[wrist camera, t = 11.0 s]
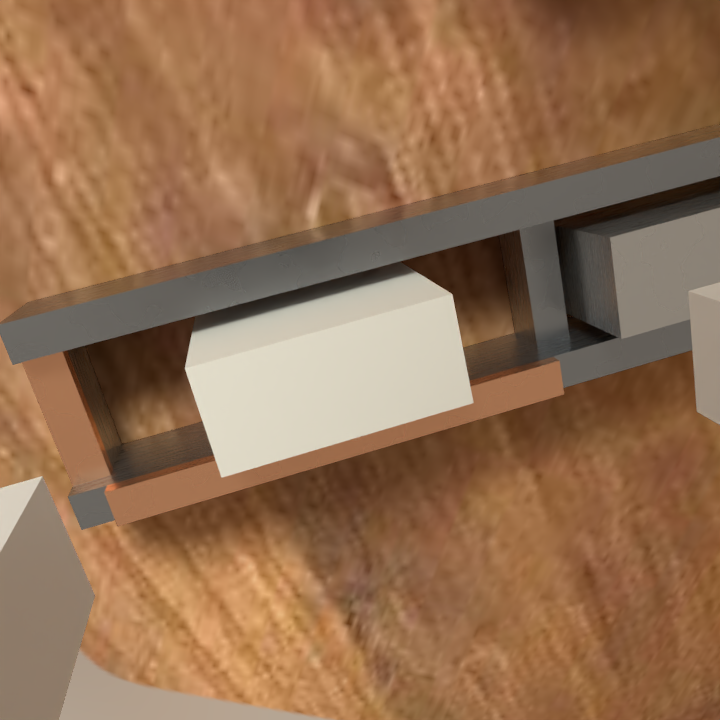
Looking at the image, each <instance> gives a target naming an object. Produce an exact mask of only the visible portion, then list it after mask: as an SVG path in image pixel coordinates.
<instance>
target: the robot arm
mask: <svg viewBox="0 0 720 720" xmlns="http://www.w3.org/2000/svg"><path fill="white" fill-rule="evenodd" d="M688 294H689V308H690V323H691V337H692V351H693V365H694V379H695V393H696V408H697V412H698V413H700V414H702V415H703V416H705V417H707V418H709V419H710V420H712V421H714V422H716V423H717V424H719V425H720V282H718V283H715V284H712V285H708V286H705V287H701V288H698V289H694V290H691V291H688ZM94 597H95V594H94V592H93V590H92V588H91V585H90V583H89V581H88V578H87V576H86V574H85V572H84V569H83V567H82V565H81V563H80V560H79V558H78V556H77V553H76V551H75V549H74V547H73V544H72V542H71V540H70V538H69V535H68V533H67V531H66V528H65V526H64V524H63V522H62V519H61V517H60V515H59V513H58V510H57V508H56V506H55V503H54V501H53V499H52V497H51V494H50V492H49V490H48V487H47V485H46V483H45V481H44V478H43V476H41V477H38V478H34V479H31V480H27V481H24V482H20V483H17V484H13V485H10V486H6V487H3V488H1V489H0V720H59V717H60V713H61V710H62V707H63V703H64V700H65V696H66V693H67V689H68V686H69V682H70V679H71V676H72V672H73V669H74V666H75V662H76V659H77V655H78V652H79V649H80V645H81V642H82V638H83V635H84V631H85V628H86V625H87V621H88V618H89V614H90V611H91V608H92V604H93V601H94Z"/></svg>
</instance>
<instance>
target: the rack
mask: <svg viewBox="0 0 720 720" xmlns="http://www.w3.org/2000/svg"><path fill="white" fill-rule="evenodd" d="M497 235H499V239H500V245H501V251H502V258H503V264H504V270H505V276H506V282H507V288H508V294H509V300H510V306H511V312H512V318H513V324H514V331H515V333H514V334H510V335H507V336H503V337H500V338H496V339H492V340H489V341H485V342H482V343H478V344H475V345H471V346H468V347H464V348H463V351H464V356H465V362H466V367H467V372H468V377H469V382H470V387H471V392H472V397H473V402H474V403H472V404H469V405H465V406H462V407H459V408H455V409H452V410H448V411H445V412H442V413H438V414H435V415H432V416H428V417H425V418H422V419H418V420H415V421H411V422H408V423H405V424H401V425H398V426H395V427H391V428H388V429H384V430H381V431H378V432H374V433H371V434H368V435H364V436H361V437H357V438H354V439H351V440H347V441H344V442H341V443H337V444H334V445H330V446H327V447H324V448H320V449H317V450H314V451H310V452H307V453H303V454H300V455H297V456H293V457H290V458H287V459H283V460H280V461H276V462H273V463H270V464H266V465H263V466H260V467H256V468H253V469H250V470H246V471H243V472H239V473H236V474H233V475H229V476H226V477H223V478H221V475H220V472H219V469H218V466H217V463H216V460H215V457H214V454H213V451H212V448H211V445H210V442H209V439H208V436H207V433H206V430H205V427H204V424H203V422H200V423H196V424H193V425H189V426H185V427H182V428H178V429H175V430H171V431H168V432H164V433H161V434H157V435H154V436H150V437H147V438H143V439H140V440H136V441H133V442H129V443H125V444H122V443H121V441H120V438H119V436H118V433H117V430H116V428H115V425H114V422H113V420H112V417H111V414H110V412H109V409H108V406H107V404H106V401H105V398H104V396H103V393H102V391H101V388H100V385H99V383H98V380H97V377H96V375H95V372H94V369H93V367H92V364H91V361H90V359H89V356H88V353H87V351H86V348H85V345H89V344H92V343H96V342H100V341H104V340H107V339H111V338H115V337H119V336H122V335H126V334H130V333H134V332H137V331H141V330H145V329H149V328H152V327H156V326H160V325H164V324H167V323H171V322H175V321H179V320H182V319H186V318H190V317H194V316H197V315H201V314H205V313H209V312H212V311H216V310H220V309H224V308H227V307H231V306H235V305H239V304H242V303H246V302H250V301H254V300H257V299H261V298H265V297H268V296H272V295H276V294H280V293H283V292H287V291H291V290H295V289H298V288H302V287H306V286H310V285H313V284H317V283H321V282H325V281H328V280H332V279H336V278H340V277H343V276H347V275H351V274H355V273H358V272H362V271H366V270H370V269H373V268H377V267H381V266H385V265H388V264H392V263H396V262H400V261H403V260H407V259H411V258H415V257H418V256H422V255H426V254H430V253H433V252H437V251H441V250H445V249H448V248H452V247H456V246H460V245H463V244H467V243H471V242H475V241H478V240H482V239H486V238H490V237H493V236H497ZM718 282H720V124H717V125H713V126H709V127H705V128H701V129H697V130H694V131H690V132H686V133H682V134H678V135H674V136H670V137H667V138H663V139H659V140H655V141H651V142H647V143H643V144H639V145H636V146H632V147H628V148H624V149H620V150H616V151H612V152H608V153H605V154H601V155H597V156H593V157H589V158H585V159H581V160H577V161H574V162H570V163H566V164H562V165H558V166H554V167H550V168H546V169H543V170H539V171H535V172H531V173H527V174H523V175H519V176H515V177H512V178H508V179H504V180H500V181H496V182H492V183H488V184H484V185H481V186H477V187H473V188H469V189H465V190H461V191H457V192H454V193H450V194H446V195H442V196H438V197H434V198H430V199H426V200H423V201H419V202H415V203H411V204H407V205H403V206H399V207H395V208H392V209H388V210H384V211H380V212H376V213H372V214H368V215H364V216H361V217H357V218H353V219H349V220H345V221H341V222H337V223H333V224H330V225H326V226H322V227H318V228H314V229H310V230H306V231H302V232H299V233H295V234H291V235H287V236H283V237H279V238H275V239H271V240H268V241H264V242H260V243H256V244H252V245H248V246H244V247H241V248H237V249H233V250H229V251H225V252H221V253H217V254H213V255H210V256H206V257H202V258H198V259H194V260H190V261H186V262H182V263H179V264H175V265H171V266H167V267H163V268H159V269H155V270H151V271H148V272H144V273H140V274H136V275H132V276H128V277H124V278H120V279H117V280H113V281H109V282H105V283H101V284H97V285H93V286H89V287H86V288H82V289H78V290H74V291H70V292H66V293H62V294H58V295H55V296H51V297H47V298H43V299H39V300H35V301H31V302H28V303H26V304H25V305H23V306H22V307H21V308H19V309H18V310H17V311H15V312H14V313H13V314H11V315H10V316H9V317H7V318H6V319H4V320H3V321H2V322H0V335H1V338H2V340H3V342H4V345H5V347H6V350H7V352H8V354H9V357H10V359H11V362H12V364H13V365H14V364H17V363H21V362H22V364H23V366H24V369H25V371H26V374H27V376H28V379H29V381H30V383H31V386H32V388H33V391H34V393H35V396H36V398H37V400H38V403H39V405H40V408H41V410H42V413H43V415H44V417H45V420H46V422H47V425H48V427H49V430H50V432H51V434H52V437H53V439H54V442H55V444H56V446H57V449H58V451H59V454H60V456H61V459H62V461H63V463H64V466H65V468H66V471H67V473H68V476H69V478H70V480H71V483H72V485H73V487H72V489H71V491H70V493H69V496H68V498H69V501H70V503H71V505H72V508H73V510H74V513H75V515H76V517H77V520H78V522H79V525H80V527H81V529H82V530H83V529H86V528H90V527H93V526H97V525H100V524H103V523H107V522H110V521H114V520H115V521H116V524H117V526H121V525H124V524H127V523H131V522H134V521H137V520H141V519H144V518H148V517H151V516H154V515H158V514H161V513H165V512H168V511H171V510H175V509H178V508H181V507H185V506H188V505H192V504H195V503H198V502H202V501H205V500H209V499H212V498H215V497H219V496H222V495H225V494H229V493H232V492H236V491H239V490H242V489H246V488H249V487H253V486H256V485H259V484H263V483H266V482H269V481H273V480H276V479H280V478H283V477H286V476H290V475H293V474H297V473H300V472H303V471H307V470H310V469H313V468H317V467H320V466H324V465H327V464H330V463H334V462H337V461H340V460H344V459H347V458H351V457H354V456H357V455H361V454H364V453H368V452H371V451H374V450H378V449H381V448H384V447H388V446H391V445H395V444H398V443H401V442H405V441H408V440H412V439H415V438H418V437H422V436H425V435H428V434H432V433H435V432H439V431H442V430H445V429H449V428H452V427H456V426H459V425H462V424H466V423H469V422H472V421H476V420H479V419H483V418H486V417H489V416H493V415H496V414H499V413H503V412H506V411H510V410H513V409H516V408H520V407H523V406H527V405H530V404H533V403H537V402H540V401H543V400H547V399H550V398H554V397H557V396H560V395H564V388H565V387H569V386H572V385H575V384H579V383H582V382H585V381H589V380H592V379H596V378H599V377H602V376H606V375H609V374H613V373H616V372H619V371H623V370H626V369H630V368H633V367H636V366H640V365H643V364H647V363H650V362H653V361H657V360H660V359H664V358H667V357H670V356H674V355H677V354H681V353H684V352H687V351H691V350H692V337H691V323H690V308H689V294H688V291H691V290H694V289H698V288H701V287H705V286H708V285H712V284H715V283H718ZM566 313H567V314H569V315H571V316H573V317H570V318H567V315H566Z"/></svg>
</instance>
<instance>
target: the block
mask: <svg viewBox="0 0 720 720" xmlns="http://www.w3.org/2000/svg"><path fill="white" fill-rule="evenodd" d="M185 371H186V374H187V377H188V379H189V382H190V385H191V388H192V391H193V394H194V397H195V400H196V403H197V406H198V409H199V412H200V415H201V418H202V421H203V424H204V427H205V430H206V433H207V436H208V439H209V442H210V445H211V448H212V451H213V454H214V457H215V460H216V463H217V466H218V469H219V472H220V475H221V478H223V477H226V476H229V475H233V474H236V473H239V472H243V471H246V470H250V469H253V468H256V467H260V466H263V465H266V464H270V463H273V462H276V461H280V460H283V459H287V458H290V457H293V456H297V455H300V454H303V453H307V452H310V451H314V450H317V449H320V448H324V447H327V446H330V445H334V444H337V443H341V442H344V441H347V440H351V439H354V438H357V437H361V436H364V435H368V434H371V433H374V432H378V431H381V430H384V429H388V428H391V427H395V426H398V425H401V424H405V423H408V422H411V421H415V420H418V419H422V418H425V417H428V416H432V415H435V414H438V413H442V412H445V411H448V410H452V409H455V408H459V407H462V406H465V405H469V404H472V403H474V402H473V397H472V392H471V387H470V382H469V377H468V372H467V367H466V362H465V356H464V351H463V346H462V341H461V336H460V331H459V326H458V321H457V315H456V310H455V305H454V300H453V295H452V294H451V293H450V292H448V291H447V290H445V289H443V288H442V287H440V286H438V285H437V284H435V283H434V282H432V281H430V280H429V279H427V278H425V277H424V276H422V275H421V274H419V273H417V272H416V271H414V270H412V269H411V268H409V267H408V266H406V265H404V264H403V263H401V262H396V263H392V264H388V265H385V266H381V267H377V268H373V269H370V270H366V271H362V272H358V273H355V274H351V275H347V276H343V277H340V278H336V279H332V280H328V281H325V282H321V283H317V284H313V285H310V286H306V287H302V288H298V289H295V290H291V291H287V292H283V293H280V294H276V295H272V296H268V297H265V298H261V299H257V300H254V301H250V302H246V303H242V304H239V305H235V306H231V307H227V308H224V309H220V310H216V311H212V312H209V313H205V314H201V315H197V316H195V320H194V325H193V330H192V335H191V340H190V345H189V350H188V355H187V360H186V365H185Z"/></svg>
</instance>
